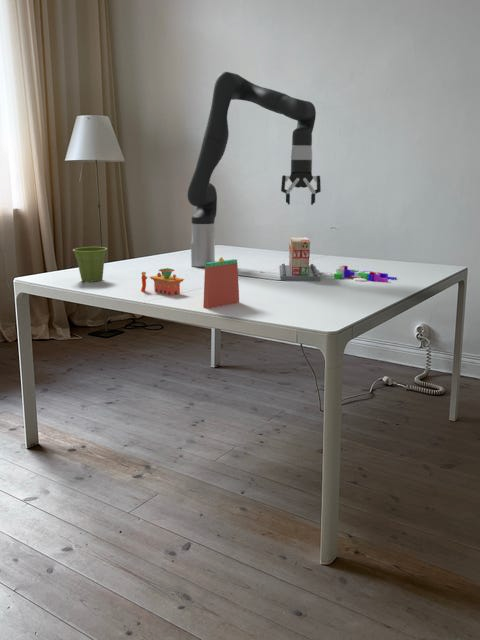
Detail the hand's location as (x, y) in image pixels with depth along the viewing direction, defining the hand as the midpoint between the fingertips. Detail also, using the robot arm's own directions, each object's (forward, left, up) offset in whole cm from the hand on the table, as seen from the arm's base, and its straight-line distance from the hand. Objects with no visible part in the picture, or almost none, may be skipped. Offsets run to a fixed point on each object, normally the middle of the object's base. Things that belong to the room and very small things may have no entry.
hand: (300, 204), depth 231 cm
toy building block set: (-37, -44, -26) cm, 63 cm away
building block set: (+23, -3, -27) cm, 35 cm away
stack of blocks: (0, +1, -25) cm, 25 cm away
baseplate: (0, 0, -26) cm, 26 cm away
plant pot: (-74, -17, -26) cm, 80 cm away
